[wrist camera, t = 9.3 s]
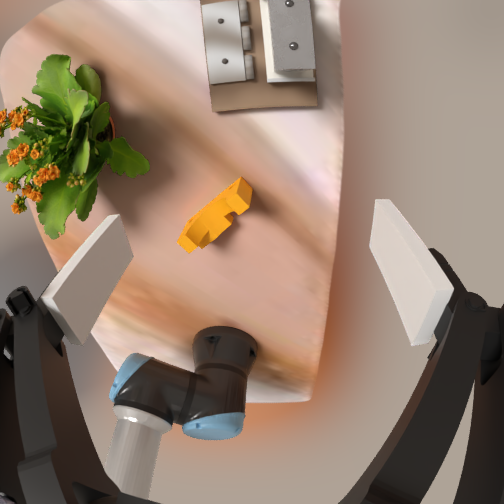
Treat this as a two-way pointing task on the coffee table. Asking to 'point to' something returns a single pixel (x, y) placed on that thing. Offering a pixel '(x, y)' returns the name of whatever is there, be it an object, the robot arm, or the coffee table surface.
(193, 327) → the coffee table surface
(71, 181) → the potted flower
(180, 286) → the coffee table surface
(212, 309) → the coffee table surface
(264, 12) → the leaf seat
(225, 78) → the hinge board
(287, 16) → the leaf block
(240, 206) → the pipe clamp
